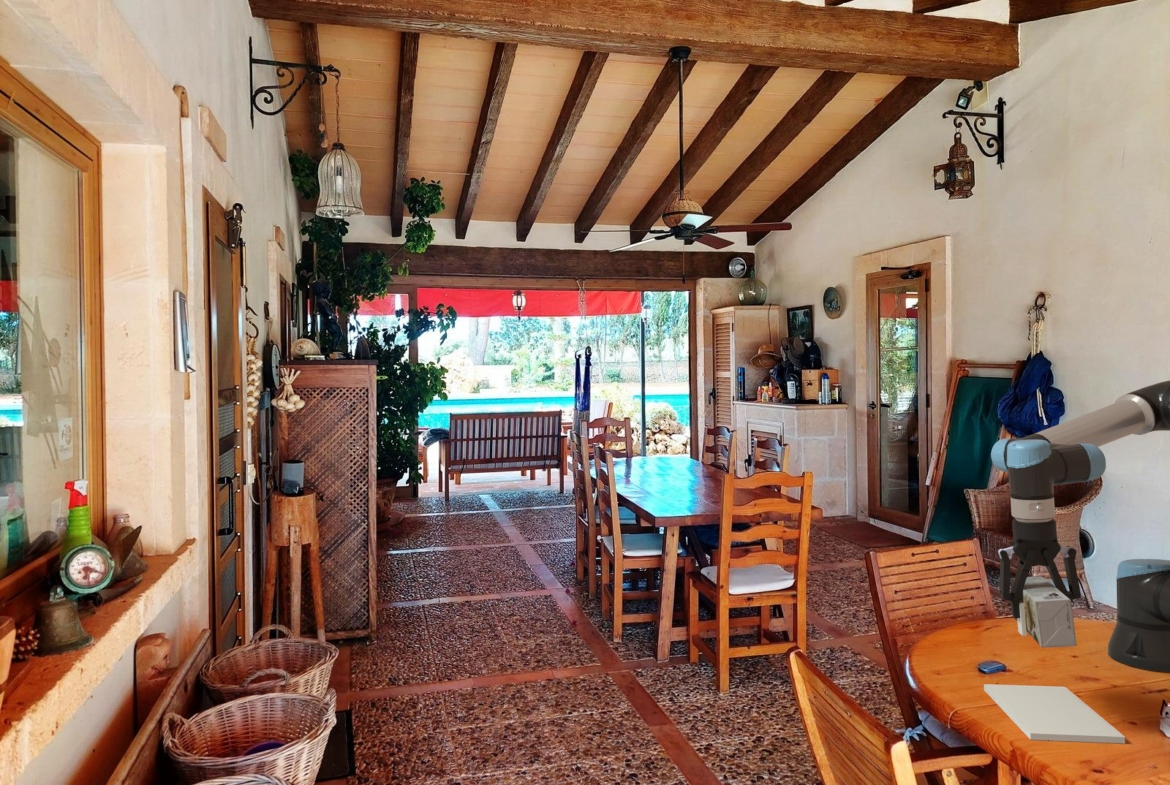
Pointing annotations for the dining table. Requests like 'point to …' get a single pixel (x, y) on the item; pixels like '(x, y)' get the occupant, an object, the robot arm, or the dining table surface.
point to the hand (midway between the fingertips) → (1042, 633)
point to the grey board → (1052, 714)
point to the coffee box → (1047, 613)
